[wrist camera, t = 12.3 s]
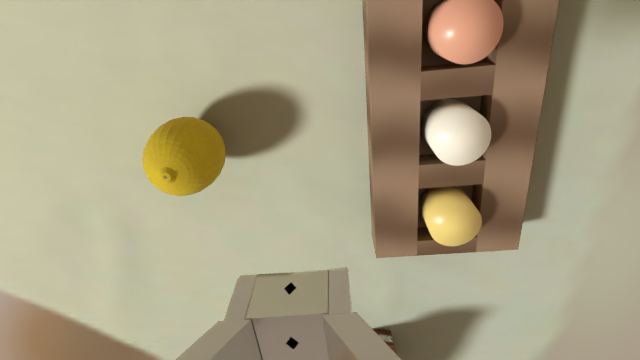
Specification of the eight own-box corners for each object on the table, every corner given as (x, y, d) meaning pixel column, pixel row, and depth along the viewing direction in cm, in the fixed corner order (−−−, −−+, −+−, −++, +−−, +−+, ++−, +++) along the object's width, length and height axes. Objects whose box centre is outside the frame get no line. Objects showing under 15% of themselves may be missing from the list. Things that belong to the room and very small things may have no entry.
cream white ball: (421, 100, 28) (433, 113, 25) (475, 96, 28) (494, 108, 24) (420, 150, 29) (431, 167, 26) (471, 146, 29) (488, 163, 26)
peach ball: (423, -2, 25) (437, -3, 22) (484, -8, 25) (507, -10, 21) (422, 59, 27) (435, 67, 23) (479, 54, 26) (499, 61, 23)
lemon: (239, 114, 30) (210, 147, 23) (231, 173, 33) (203, 221, 25) (172, 99, 30) (121, 128, 23) (169, 160, 32) (122, 205, 25)
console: (361, -27, 26) (365, -32, 23) (538, -47, 25) (568, -54, 22) (372, 235, 35) (376, 257, 32) (500, 226, 34) (518, 249, 31)
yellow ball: (419, 183, 31) (429, 204, 28) (468, 180, 30) (484, 200, 27) (418, 224, 32) (428, 247, 29) (464, 221, 32) (479, 244, 29)
